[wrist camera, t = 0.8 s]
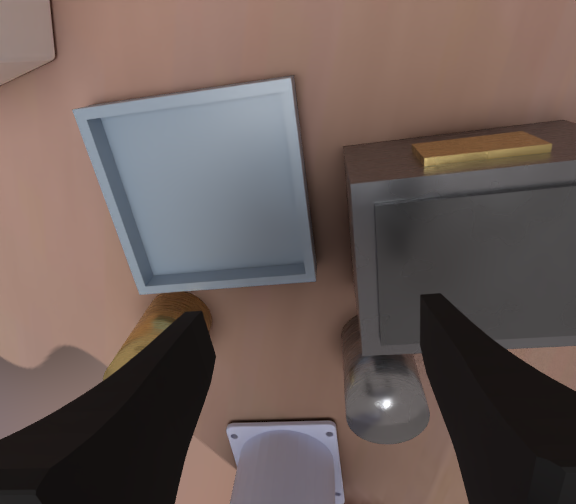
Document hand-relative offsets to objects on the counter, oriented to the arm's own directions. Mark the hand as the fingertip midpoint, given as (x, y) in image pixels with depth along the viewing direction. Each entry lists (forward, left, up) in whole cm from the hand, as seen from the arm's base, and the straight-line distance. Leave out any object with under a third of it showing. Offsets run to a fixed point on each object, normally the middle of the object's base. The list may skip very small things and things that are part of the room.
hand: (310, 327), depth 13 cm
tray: (+2, +5, -9) cm, 11 cm away
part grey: (-8, -3, -9) cm, 13 cm away
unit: (0, -7, -9) cm, 11 cm away
